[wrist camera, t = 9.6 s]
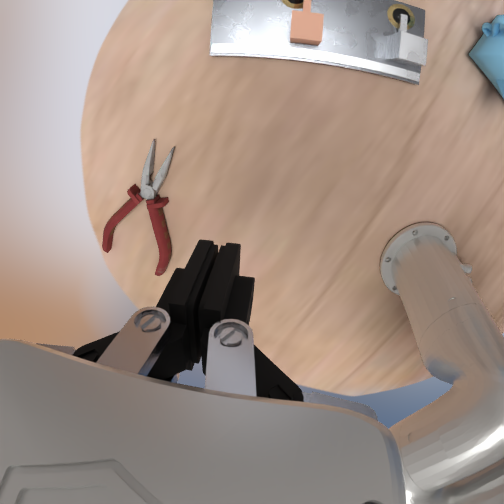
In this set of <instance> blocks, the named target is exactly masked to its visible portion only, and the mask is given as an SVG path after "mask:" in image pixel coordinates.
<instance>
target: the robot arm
mask: <svg viewBox="0 0 504 504" xmlns="http://www.w3.org/2000/svg"><path fill="white" fill-rule="evenodd" d="M240 249H241V245H240V244H235V243H226V246H221V247H220V250H219V253H218V245H214V242H213V241H209V240H199V241H198V243H197V245H196V247H195V249H194V251H193V253H192V255H191V257H190V259H189V261H188V263H187V265H186V267H185V269H182V268H176V270H175V271H174V273H173V275H172V277H171V279H170V281H169V283H168V284H167V286H166V288H165V290H164V292H163V294H162V296H161V298H160V300H159V302H158V304H157V306H156V307H146V308H142V309H140V310H138V311H137V312H135V313H134V314H133V315H132V316H131V318H130V319H129V320H128V322H127V323H126V324H125V325H124V327H123V328H122V329H121V331H119V332H117V333H114V334H112V335H109V336H107V337H104V338H102V339H99V340H97V341H94V342H92V343H89V344H86V345H84V346H82V347H80V348H78V349H77V350H75V348H74V347H68V346H57V345H47V344H37V343H36V344H35V343H31V342H27V341H22V340H15V339H0V504H504V337H503V335H502V334H501V332H500V330H499V328H498V327H497V325H496V323H495V321H494V320H493V318H492V316H491V314H490V313H489V311H488V309H487V308H486V306H485V304H484V303H483V301H482V299H481V298H480V296H479V294H478V293H477V291H476V289H475V288H474V286H473V285H472V279H471V277H468V276H467V275H466V274H465V273H471V271H472V266H471V264H465V263H464V264H462V263H461V262H460V260H459V259H458V258H457V248H456V244H455V241H454V239H453V237H452V236H451V234H450V233H449V232H448V231H447V230H446V229H445V228H443V227H442V226H440V225H438V224H435V223H429V222H425V223H417V224H413V225H411V226H408V227H406V228H405V229H403V230H401V231H400V232H398V233H397V234H396V235H395V236H394V237H393V238H392V239H391V240H390V241H389V243H388V244H387V246H386V247H385V249H384V251H383V254H382V256H381V261H380V272H381V276H382V279H383V281H384V283H385V285H386V286H387V288H388V289H389V290H391V291H392V292H393V293H395V294H397V295H400V297H401V300H402V302H403V305H404V308H405V311H406V313H407V316H408V319H409V322H410V325H411V328H412V330H413V333H414V336H415V339H416V342H417V346H418V349H419V352H420V355H421V358H422V361H423V363H424V365H425V367H426V369H427V370H428V371H429V372H430V373H431V374H432V375H433V376H435V377H436V378H438V379H440V380H442V381H444V382H447V383H450V384H452V385H453V386H452V388H451V389H450V390H449V391H448V392H446V393H445V394H444V395H442V396H441V397H439V398H438V399H437V400H435V401H434V402H432V403H430V404H429V405H427V406H425V407H424V408H422V409H420V410H419V411H417V412H415V413H413V414H412V415H410V416H408V417H407V418H405V419H403V420H401V421H400V422H398V423H396V424H395V425H393V426H392V427H390V428H389V429H388V428H387V427H386V426H384V425H383V424H382V423H380V422H378V420H377V415H376V413H375V411H374V410H373V409H371V408H370V407H369V406H367V405H364V404H361V403H356V402H352V401H347V400H343V399H339V398H335V397H331V396H327V395H323V394H320V393H316V392H312V394H308V393H305V392H302V391H301V389H300V388H299V387H298V386H297V385H296V384H295V383H294V382H293V381H292V380H291V379H290V378H289V377H288V376H287V375H285V374H284V373H283V372H282V371H281V370H280V369H279V368H278V367H277V366H276V365H275V364H274V363H273V362H272V361H271V360H270V359H268V358H267V357H266V356H265V355H264V354H263V353H262V352H261V351H260V350H259V349H258V348H257V347H256V346H255V345H254V340H253V332H252V329H251V328H250V327H249V321H250V315H251V309H252V302H253V293H254V282H255V278H253V277H245V276H239V268H240ZM201 356H202V367H203V373H204V374H205V376H206V379H205V380H206V381H205V389H203V388H198V387H193V386H188V385H183V384H177V381H178V379H179V373H180V372H182V371H184V370H192V369H193V366H194V363H199V361H200V358H201Z"/></svg>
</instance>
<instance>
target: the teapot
mask: <svg viewBox="0 0 504 504" xmlns="http://www.w3.org/2000/svg"><path fill="white" fill-rule="evenodd" d="M482 31H483V32H484V34H483V35H482V37H481V38H480V39H479V41H478V42H477V44H476V45H475V46H474V48H473V49H472V50H471V52H470V53H469V54H468V55H469V56H470V57H471V58H472V59H473V60H474V62H475V63H476V64H477V65H478V67H479V68H480V69H481V70H482V71H483V72H484V74H485V75H486V76H487V78H488V79H489V80H490V81H491V83H492V84H493V85H494V87H495V88H496V89H497V91H498V92H499V93H500V95H501V96H502V97H503V99H504V15H497V16H496V17H495V19H494V20H493V21H492V23H491V24H490V23H484V24H483V25H482Z"/></svg>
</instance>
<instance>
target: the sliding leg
mask: <svg viewBox="0 0 504 504" xmlns="http://www.w3.org/2000/svg"><path fill="white" fill-rule="evenodd" d="M323 20H324V14H320V13H312V12H311V0H304V1H303V11H295V10H292V19H291V32H290V42H291V43H300V44H308V45H316V46H318V45H319V44H320V43H321V42H322V33H323Z"/></svg>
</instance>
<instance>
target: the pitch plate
mask: <svg viewBox="0 0 504 504" xmlns="http://www.w3.org/2000/svg"><path fill="white" fill-rule="evenodd" d="M303 1H304V0H213V11H212V25H211V40H210V56H238V57H259V58H273V59H284V60H294V61H303V62H311V63H318V64H325V65H331V66H337V67H343V68H348V69H353V70H358V71H363V72H368V73H372V74H377V75H381V76H385V77H389V78H393V79H397V80H401V81H404V82H408V83H412V84H416V85H419V79H420V71H421V66H426V57H427V45H428V39H425V38H424V24H425V10H423V9H420V8H417V7H414V6H411V5H408V4H405V3H402V2H398V1H395V0H311V12H312V13H320V14H324V20H323V33H322V42H321V43H320V44H319V45H318V46H316V45H308V44H300V43H291V42H290V32H291V19H292V10H295V11H303Z"/></svg>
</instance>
